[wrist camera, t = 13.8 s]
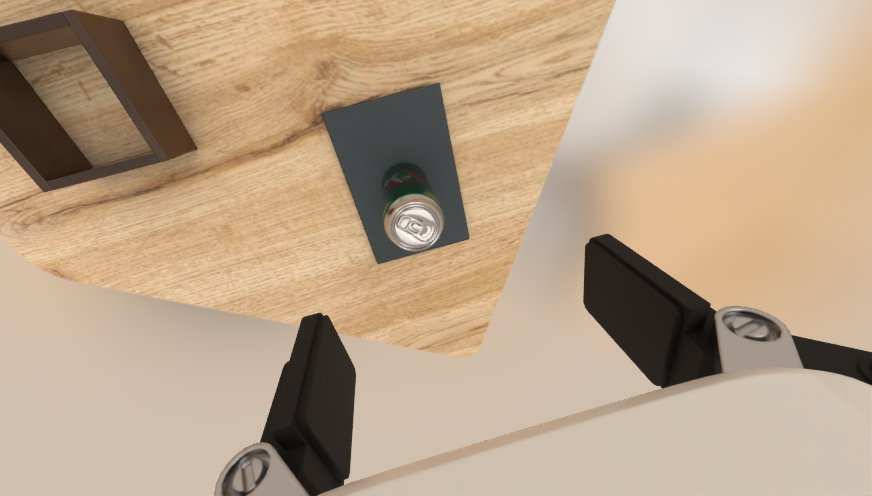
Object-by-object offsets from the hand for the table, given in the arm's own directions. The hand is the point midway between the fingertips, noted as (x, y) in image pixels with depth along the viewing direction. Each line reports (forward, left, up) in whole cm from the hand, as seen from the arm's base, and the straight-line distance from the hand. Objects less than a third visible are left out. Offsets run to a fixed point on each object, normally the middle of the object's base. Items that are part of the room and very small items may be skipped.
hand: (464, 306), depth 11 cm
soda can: (+3, -1, -27) cm, 27 cm away
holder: (-11, -25, -27) cm, 38 cm away
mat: (+3, -1, -27) cm, 27 cm away
